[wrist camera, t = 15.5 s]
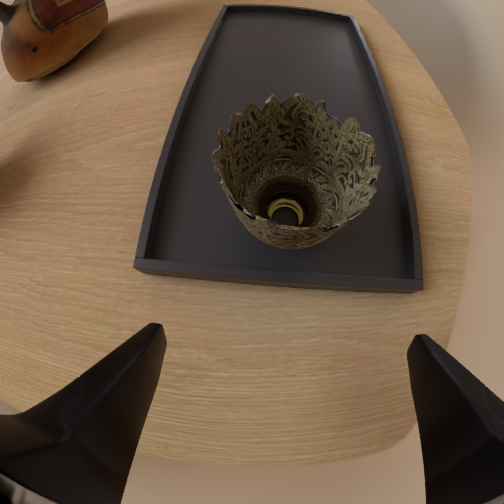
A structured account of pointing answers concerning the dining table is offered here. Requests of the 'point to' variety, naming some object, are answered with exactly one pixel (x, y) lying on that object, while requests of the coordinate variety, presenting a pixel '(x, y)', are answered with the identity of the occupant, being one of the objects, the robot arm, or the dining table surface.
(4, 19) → the ceramic pitcher
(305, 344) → the dining table surface
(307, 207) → the cup
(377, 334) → the dining table surface
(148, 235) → the dark gray tray
